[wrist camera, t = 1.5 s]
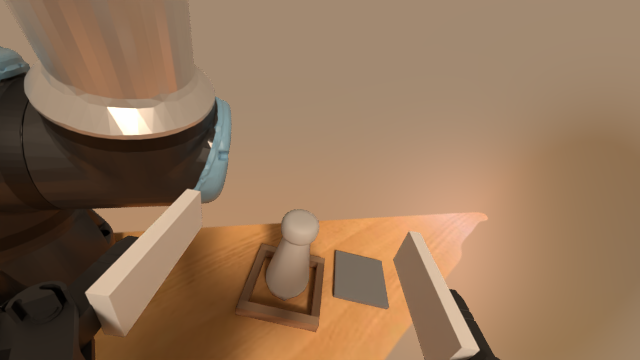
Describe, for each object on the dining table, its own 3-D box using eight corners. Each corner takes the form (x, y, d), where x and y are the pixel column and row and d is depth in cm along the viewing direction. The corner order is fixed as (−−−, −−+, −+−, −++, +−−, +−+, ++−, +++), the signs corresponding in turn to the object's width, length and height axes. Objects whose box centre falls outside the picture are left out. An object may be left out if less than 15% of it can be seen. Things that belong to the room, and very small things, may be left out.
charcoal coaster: (333, 296, 33) (334, 294, 32) (335, 252, 39) (336, 250, 39) (387, 309, 33) (388, 307, 33) (380, 263, 40) (381, 260, 39)
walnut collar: (235, 314, 28) (235, 307, 27) (261, 250, 36) (262, 243, 35) (315, 331, 28) (318, 326, 27) (322, 264, 37) (324, 258, 36)
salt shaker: (266, 266, 34) (277, 198, 27) (304, 268, 35) (324, 203, 28) (262, 306, 29) (274, 235, 22) (306, 307, 30) (330, 240, 24)
